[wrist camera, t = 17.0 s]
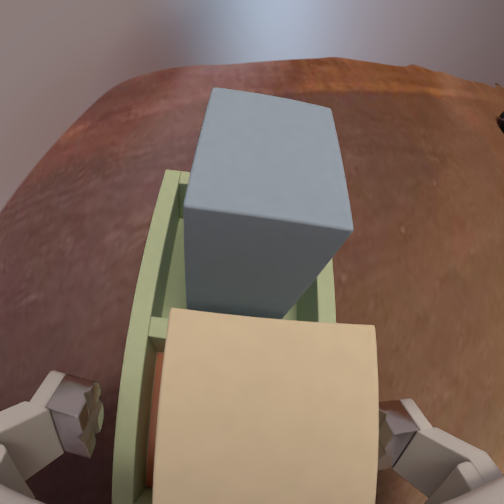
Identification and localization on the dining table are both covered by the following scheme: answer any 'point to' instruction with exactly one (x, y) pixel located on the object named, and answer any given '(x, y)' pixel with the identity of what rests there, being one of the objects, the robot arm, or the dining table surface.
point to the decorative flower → (502, 121)
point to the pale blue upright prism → (262, 204)
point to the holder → (154, 336)
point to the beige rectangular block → (266, 412)
